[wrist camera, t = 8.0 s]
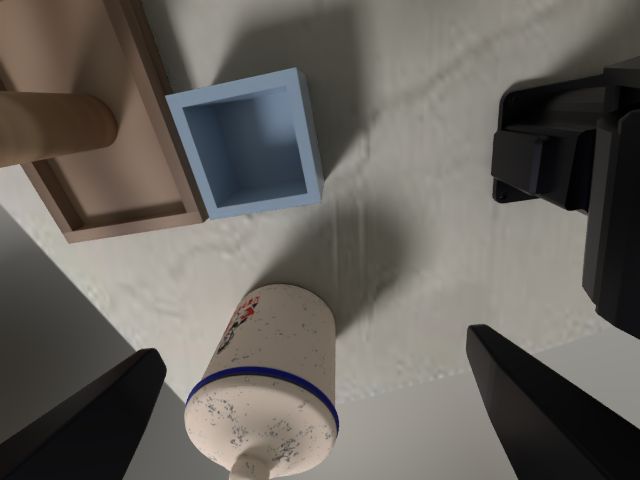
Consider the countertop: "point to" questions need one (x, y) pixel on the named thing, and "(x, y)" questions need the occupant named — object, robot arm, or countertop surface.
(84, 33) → the tray
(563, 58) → the countertop surface
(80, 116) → the dowel pin
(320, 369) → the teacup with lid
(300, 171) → the holder cup
